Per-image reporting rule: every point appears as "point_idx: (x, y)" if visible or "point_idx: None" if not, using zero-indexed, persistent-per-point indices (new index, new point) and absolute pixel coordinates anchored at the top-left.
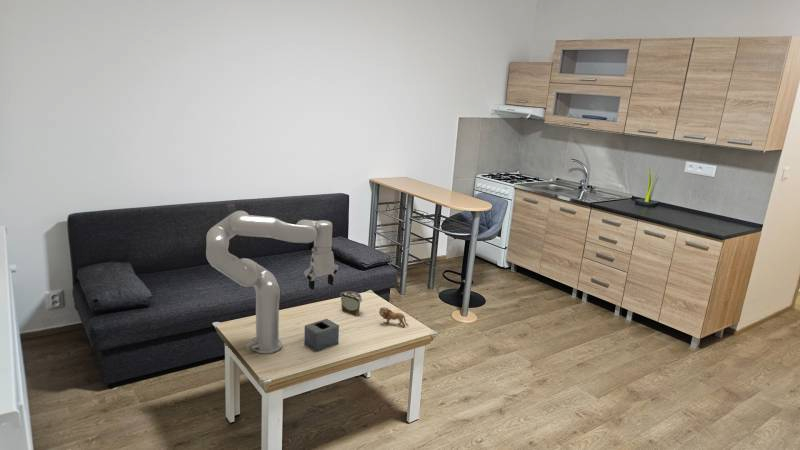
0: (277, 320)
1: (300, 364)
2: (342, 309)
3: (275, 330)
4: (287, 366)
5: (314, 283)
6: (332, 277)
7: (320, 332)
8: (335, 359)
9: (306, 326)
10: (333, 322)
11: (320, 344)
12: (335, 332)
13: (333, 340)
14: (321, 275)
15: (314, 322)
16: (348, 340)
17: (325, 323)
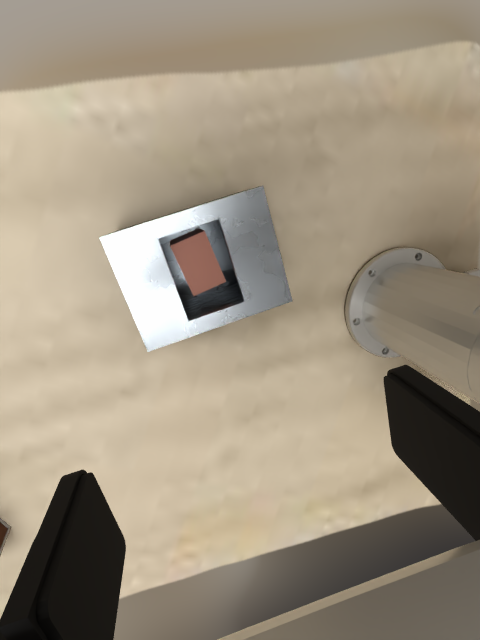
0: (467, 306)
1: (337, 108)
2: (3, 535)
3: (442, 283)
4: (388, 116)
5: (448, 422)
6: (25, 609)
7: (236, 194)
8: (177, 80)
9: (287, 287)
10: (122, 289)
11: (223, 197)
12: (129, 227)
13: (144, 222)
14: (477, 567)
15: (231, 321)
16: (55, 248)
17: (174, 291)
